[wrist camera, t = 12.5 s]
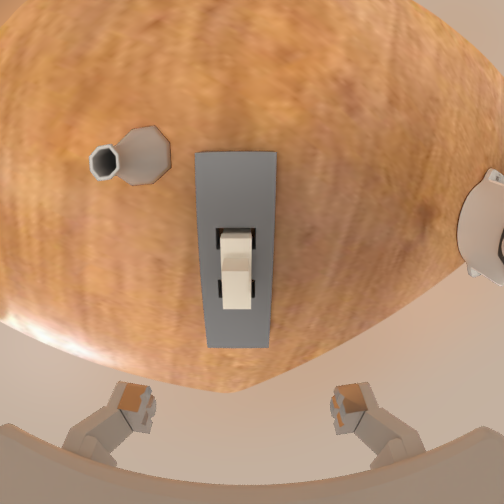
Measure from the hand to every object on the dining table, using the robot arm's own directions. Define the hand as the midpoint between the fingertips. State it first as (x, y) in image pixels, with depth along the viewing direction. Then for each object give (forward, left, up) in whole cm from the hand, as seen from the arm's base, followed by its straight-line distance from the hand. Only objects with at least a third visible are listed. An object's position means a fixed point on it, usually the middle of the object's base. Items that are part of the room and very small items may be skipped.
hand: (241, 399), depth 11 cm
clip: (+1, +3, -24) cm, 24 cm away
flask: (+12, -9, -24) cm, 28 cm away
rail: (+1, +3, -24) cm, 24 cm away
